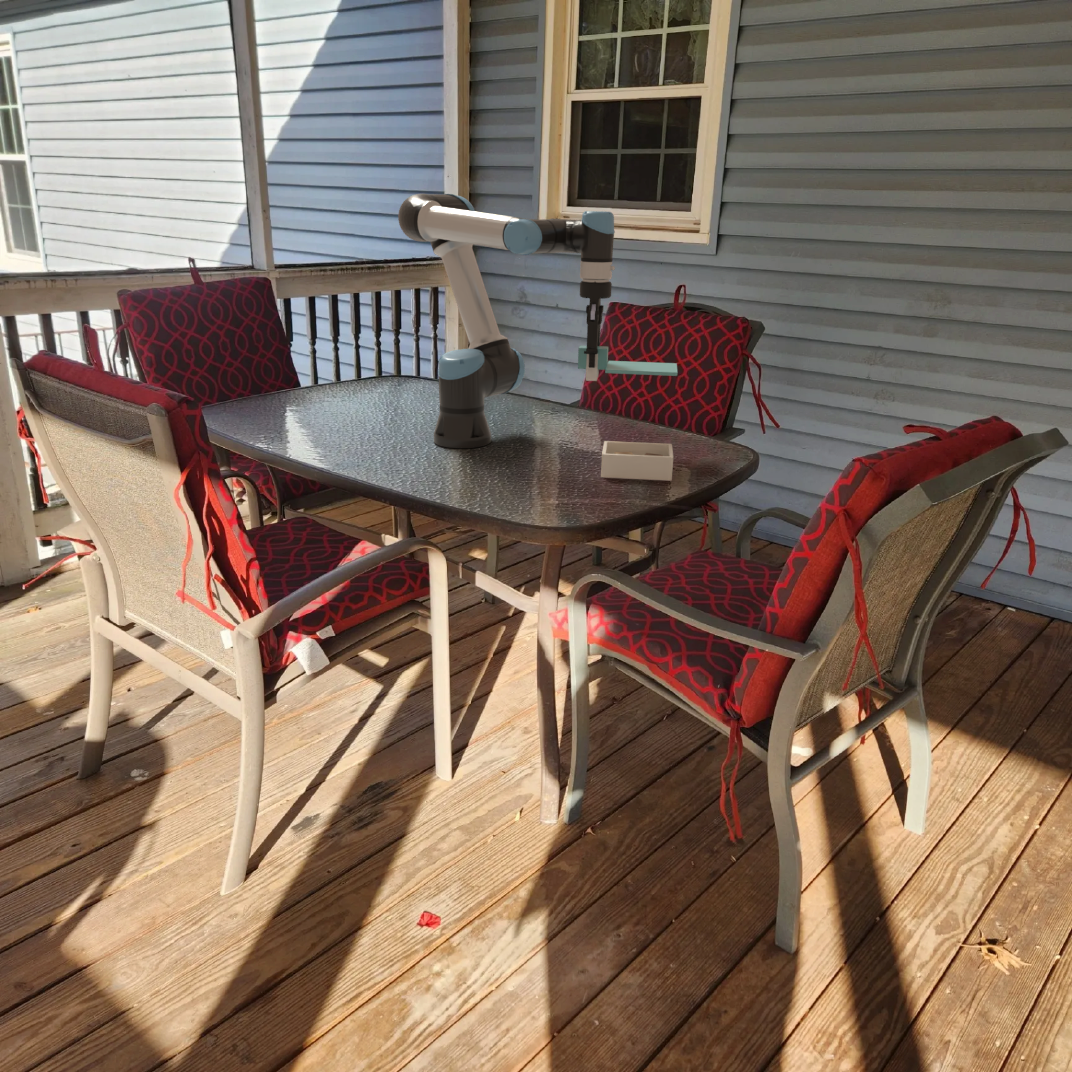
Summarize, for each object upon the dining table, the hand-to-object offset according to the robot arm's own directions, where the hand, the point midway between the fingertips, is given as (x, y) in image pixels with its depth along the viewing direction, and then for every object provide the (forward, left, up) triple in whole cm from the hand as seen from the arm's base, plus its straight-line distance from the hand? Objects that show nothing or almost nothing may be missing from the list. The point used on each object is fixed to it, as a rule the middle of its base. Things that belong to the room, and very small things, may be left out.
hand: (592, 378), depth 211 cm
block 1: (+9, -18, -18) cm, 27 cm away
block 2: (+16, -19, -18) cm, 30 cm away
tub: (+12, -18, -19) cm, 29 cm away
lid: (+9, 0, +3) cm, 9 cm away
